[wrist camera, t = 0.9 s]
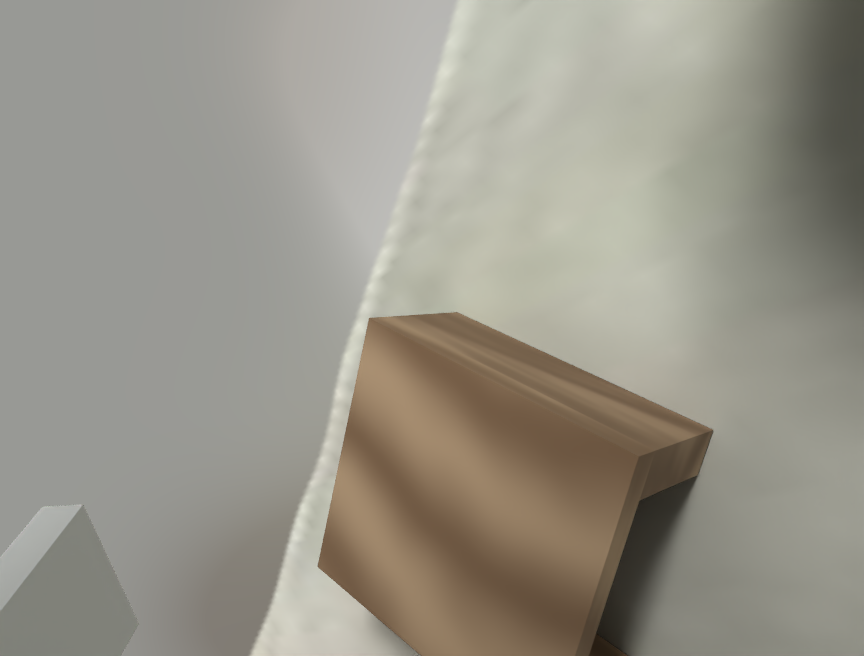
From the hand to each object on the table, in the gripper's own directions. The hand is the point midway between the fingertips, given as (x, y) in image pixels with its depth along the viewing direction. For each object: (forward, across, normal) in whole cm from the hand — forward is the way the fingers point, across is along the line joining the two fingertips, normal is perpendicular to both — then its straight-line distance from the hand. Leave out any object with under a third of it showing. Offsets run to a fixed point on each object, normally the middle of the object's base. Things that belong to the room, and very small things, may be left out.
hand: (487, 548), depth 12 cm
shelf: (+21, -2, -16) cm, 26 cm away
